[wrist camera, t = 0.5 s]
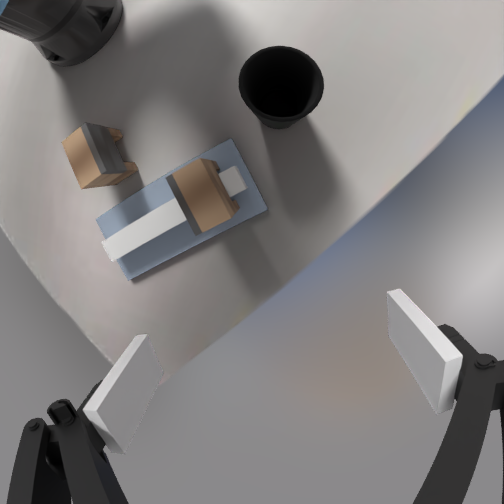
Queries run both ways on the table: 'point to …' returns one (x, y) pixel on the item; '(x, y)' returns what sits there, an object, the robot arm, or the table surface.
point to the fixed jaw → (202, 195)
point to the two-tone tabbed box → (96, 156)
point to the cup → (281, 85)
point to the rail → (183, 230)
